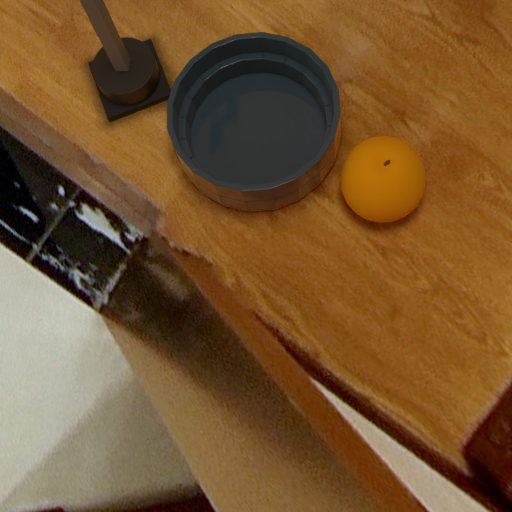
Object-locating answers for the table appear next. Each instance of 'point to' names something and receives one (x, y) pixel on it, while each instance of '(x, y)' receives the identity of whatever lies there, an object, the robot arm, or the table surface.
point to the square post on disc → (120, 60)
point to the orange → (383, 179)
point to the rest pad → (158, 96)
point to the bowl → (255, 121)
